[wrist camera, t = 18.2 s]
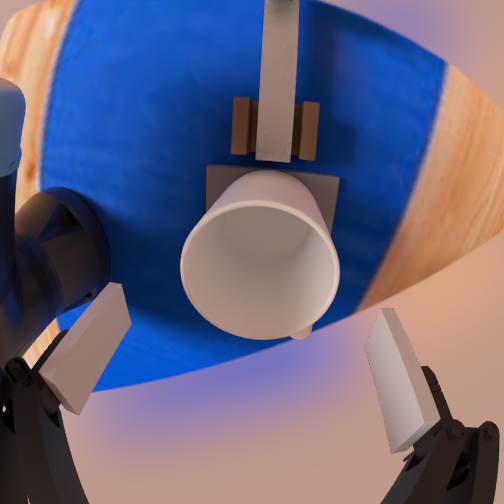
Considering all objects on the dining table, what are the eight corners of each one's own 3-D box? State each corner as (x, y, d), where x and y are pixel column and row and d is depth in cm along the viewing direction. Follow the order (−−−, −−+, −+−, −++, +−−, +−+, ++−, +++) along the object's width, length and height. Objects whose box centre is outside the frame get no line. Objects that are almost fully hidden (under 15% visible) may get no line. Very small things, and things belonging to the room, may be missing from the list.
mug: (342, 274, 25) (368, 354, 15) (262, 302, 27) (251, 385, 18) (294, 151, 20) (305, 171, 11) (203, 192, 23) (151, 241, 13)
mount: (239, 148, 22) (227, 153, 17) (241, 103, 20) (230, 96, 16) (310, 154, 21) (317, 161, 17) (313, 108, 20) (322, 103, 15)
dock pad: (210, 274, 28) (207, 280, 26) (210, 164, 23) (206, 166, 22) (318, 284, 27) (319, 291, 26) (336, 175, 22) (339, 177, 21)
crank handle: (257, 157, 20) (244, 173, 13) (268, -20, 13) (260, -72, 6) (289, 159, 20) (293, 177, 13) (298, -18, 13) (303, -70, 6)
